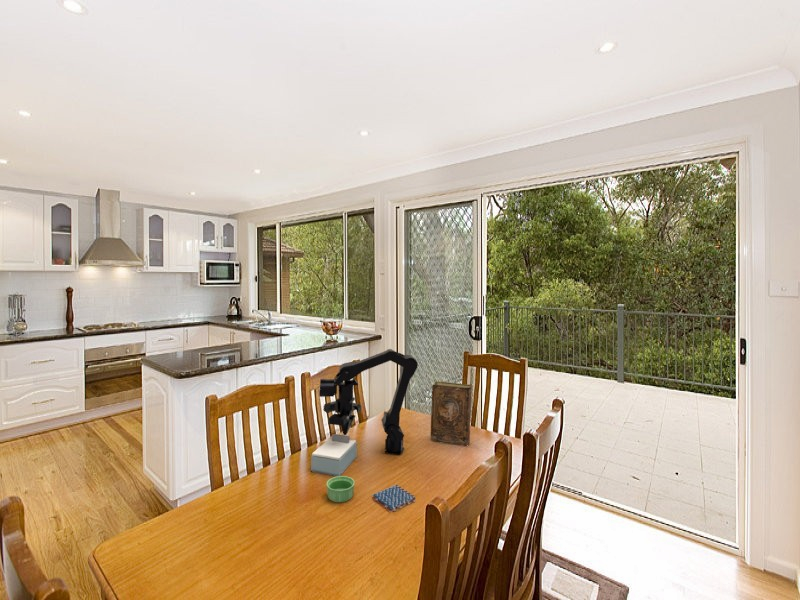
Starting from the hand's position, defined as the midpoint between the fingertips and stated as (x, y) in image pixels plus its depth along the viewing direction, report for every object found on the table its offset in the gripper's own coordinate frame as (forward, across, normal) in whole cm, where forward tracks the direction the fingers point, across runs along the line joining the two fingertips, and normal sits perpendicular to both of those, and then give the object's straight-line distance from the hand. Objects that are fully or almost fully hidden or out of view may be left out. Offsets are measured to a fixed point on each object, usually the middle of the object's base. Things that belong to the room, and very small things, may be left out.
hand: (345, 434), depth 159 cm
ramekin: (+8, +28, +11) cm, 31 cm away
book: (+8, -26, +38) cm, 47 cm away
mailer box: (+8, +9, 0) cm, 12 cm away
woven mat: (+8, +25, +28) cm, 39 cm away
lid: (+2, +9, 0) cm, 9 cm away
